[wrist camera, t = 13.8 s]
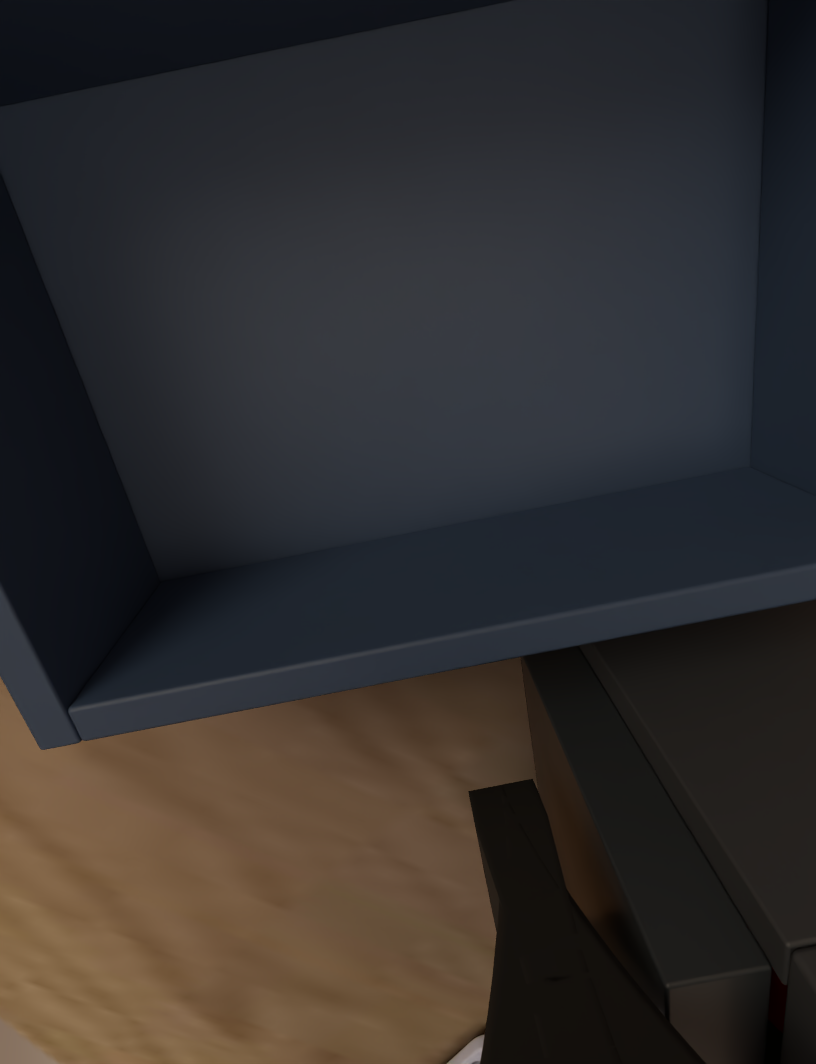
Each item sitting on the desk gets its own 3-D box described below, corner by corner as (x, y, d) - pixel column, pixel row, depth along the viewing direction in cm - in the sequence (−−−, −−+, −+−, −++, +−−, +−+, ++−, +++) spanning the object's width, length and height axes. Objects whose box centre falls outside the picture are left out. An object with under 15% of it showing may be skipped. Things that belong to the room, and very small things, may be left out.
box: (152, 597, 12) (39, 752, 8) (-54, 86, 9) (-431, -105, 5) (758, 478, 12) (964, 573, 8) (785, -89, 9) (1168, -448, 5)
